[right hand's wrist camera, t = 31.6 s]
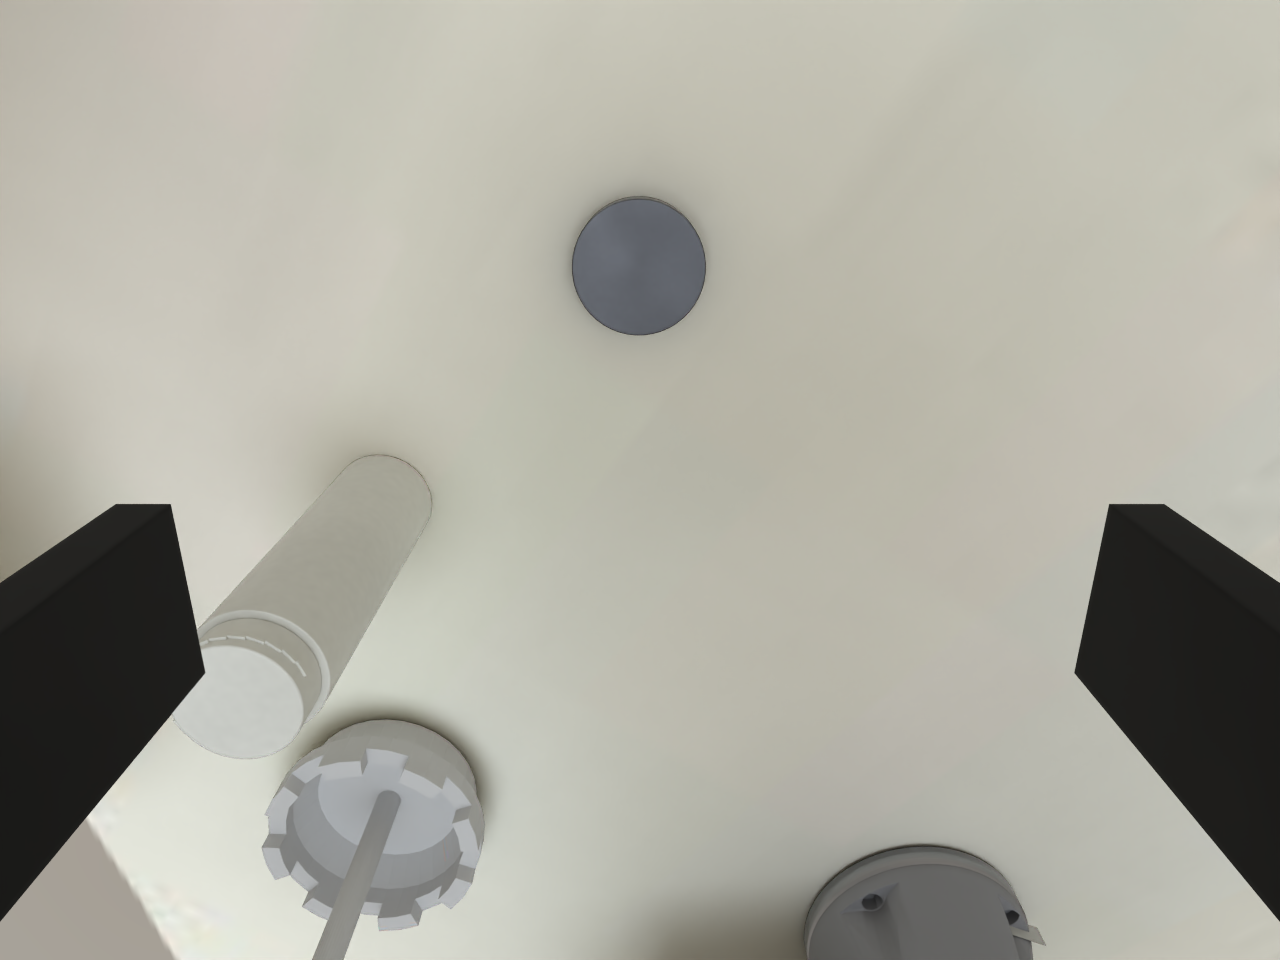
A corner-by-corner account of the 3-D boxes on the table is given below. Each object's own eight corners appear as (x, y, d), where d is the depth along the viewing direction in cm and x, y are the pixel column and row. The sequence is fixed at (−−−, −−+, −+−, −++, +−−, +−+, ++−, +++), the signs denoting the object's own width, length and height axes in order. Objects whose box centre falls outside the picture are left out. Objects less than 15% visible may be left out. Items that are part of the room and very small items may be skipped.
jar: (400, 439, 49) (255, 615, 31) (449, 521, 51) (340, 734, 32) (316, 478, 50) (126, 673, 32) (367, 558, 52) (216, 786, 33)
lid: (566, 314, 47) (562, 322, 45) (585, 184, 44) (583, 186, 42) (688, 336, 47) (691, 346, 45) (714, 209, 45) (718, 212, 43)
